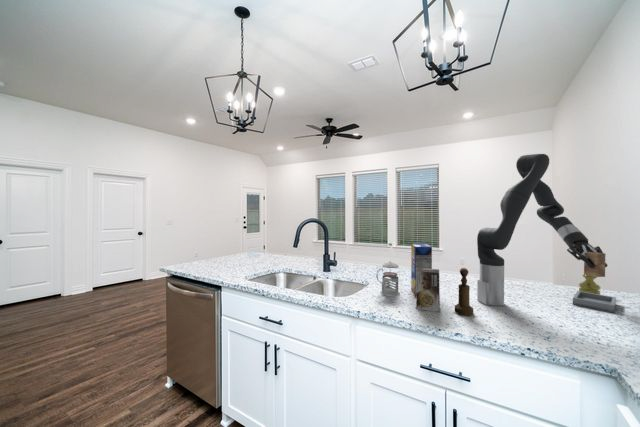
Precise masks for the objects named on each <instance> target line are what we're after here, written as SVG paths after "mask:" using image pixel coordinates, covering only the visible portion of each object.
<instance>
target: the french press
mask: <svg viewBox="0 0 640 427" xmlns="http://www.w3.org/2000/svg"><path fill="white" fill-rule="evenodd" d="M388 246H389V247H391V246H393V244H392V242H390V243H388ZM382 267H383V268H387V269H397V268H399V265H398V264H397V263H395V262H391V261H388V262H386V263H385V262H384V263H383V264H381V268H379V269H378V270H377V271H376V276H375V277H376V280H377V282H379V283H380V284H381V290H380V294H381V295H382V296H387V297H398V296H400V295H401V292H400V291H399V276H398V273H397V272H393V271H392V272H391V271H385V272H384V271H383V268H382ZM380 271H383V272H382V274H383V275H382V278H381V279H382V281H380V280H379V278H378V277H379V272H380Z"/></svg>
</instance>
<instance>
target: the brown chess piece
mask: <svg viewBox="0 0 640 427" xmlns="http://www.w3.org/2000/svg"><path fill="white" fill-rule="evenodd" d="M459 274H460V276H461V279H460V282H461V283H459V284H458V303H457V304H456V305H454V313H456V314H457V315H460V316H466V317H468V316H469V317H472V316H474V308H473V306H471V305H470V304H471V303H470V290H471V289H470V288H471V287H470V285H469V284H467V283H468V279H467V276H468V275H469V270H468V269H467V268H465V267H461V268H460V269H459Z"/></svg>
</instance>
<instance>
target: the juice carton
mask: <svg viewBox="0 0 640 427" xmlns="http://www.w3.org/2000/svg"><path fill="white" fill-rule="evenodd" d="M410 244H411V247H410V248H411V253H410V255H411V256H410V258H411V262H410V264H411V265H410V266H411V268H410V270H411V272H410V273H411V276H410V278H411V279H410V282H411V283H410V284H411V286H410V287H411V291H412V293H413V295H414V297H415V298H416V270H417V268H426V269H433V265H432V264H433V246H432V245H430V244H428V243H410Z"/></svg>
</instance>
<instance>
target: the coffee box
mask: <svg viewBox="0 0 640 427" xmlns="http://www.w3.org/2000/svg"><path fill="white" fill-rule="evenodd" d="M415 298H416V301H415V302H416V305H415V306H416V309H418V310H423V311H424V310H425V311H432V312H440V311H441V310H440V309H441V308H440V307H441V305H440V300H441V295H440V269H439V268H438V269H436V268H432V269H426V268H417V270H416V297H415Z"/></svg>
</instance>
